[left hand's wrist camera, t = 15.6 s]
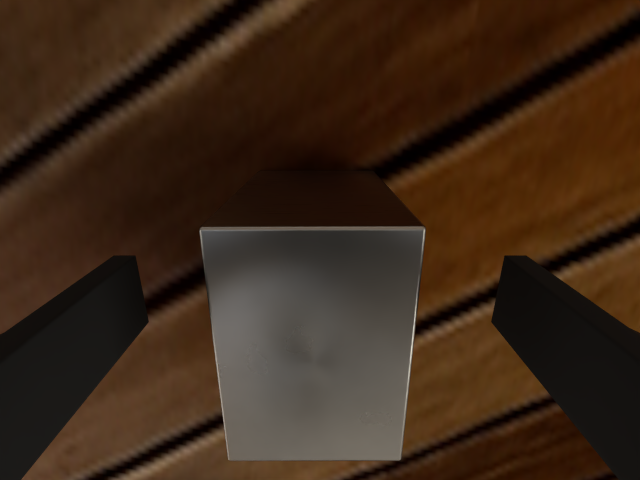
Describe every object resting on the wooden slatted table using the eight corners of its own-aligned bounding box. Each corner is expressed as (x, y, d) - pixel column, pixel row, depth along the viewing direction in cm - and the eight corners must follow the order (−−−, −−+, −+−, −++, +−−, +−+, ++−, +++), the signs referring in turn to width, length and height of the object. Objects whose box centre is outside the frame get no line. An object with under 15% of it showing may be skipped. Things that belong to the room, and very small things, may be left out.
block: (373, 170, 16) (427, 226, 8) (366, 311, 18) (402, 462, 10) (258, 170, 16) (197, 227, 8) (267, 311, 18) (227, 462, 10)
